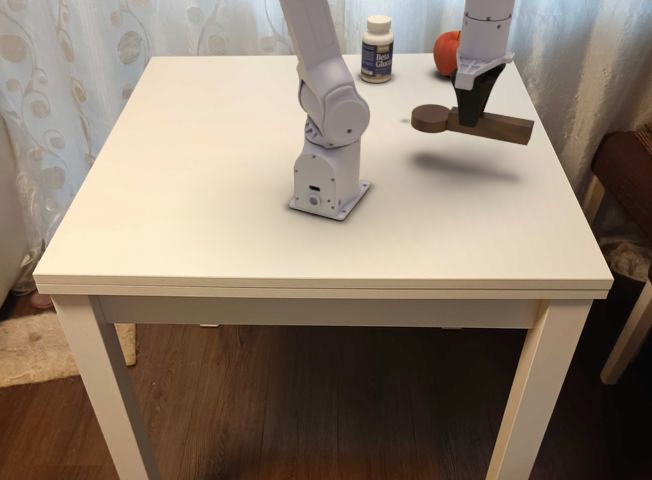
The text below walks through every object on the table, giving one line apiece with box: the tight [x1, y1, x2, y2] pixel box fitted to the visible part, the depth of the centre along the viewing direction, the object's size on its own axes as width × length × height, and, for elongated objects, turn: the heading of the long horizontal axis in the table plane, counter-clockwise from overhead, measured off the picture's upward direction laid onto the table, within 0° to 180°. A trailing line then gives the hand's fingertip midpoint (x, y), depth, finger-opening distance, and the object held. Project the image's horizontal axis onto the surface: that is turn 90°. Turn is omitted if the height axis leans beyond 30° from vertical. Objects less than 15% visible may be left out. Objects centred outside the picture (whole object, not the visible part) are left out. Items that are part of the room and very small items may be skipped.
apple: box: [432, 30, 461, 77], centre depth 110 cm, size 7×7×8 cm
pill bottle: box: [360, 14, 395, 84], centre depth 110 cm, size 5×5×10 cm
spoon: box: [410, 103, 535, 147], centre depth 86 cm, size 16×6×3 cm, turn 63°
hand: (470, 121), depth 86 cm, fingers closed on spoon, 2 cm apart
